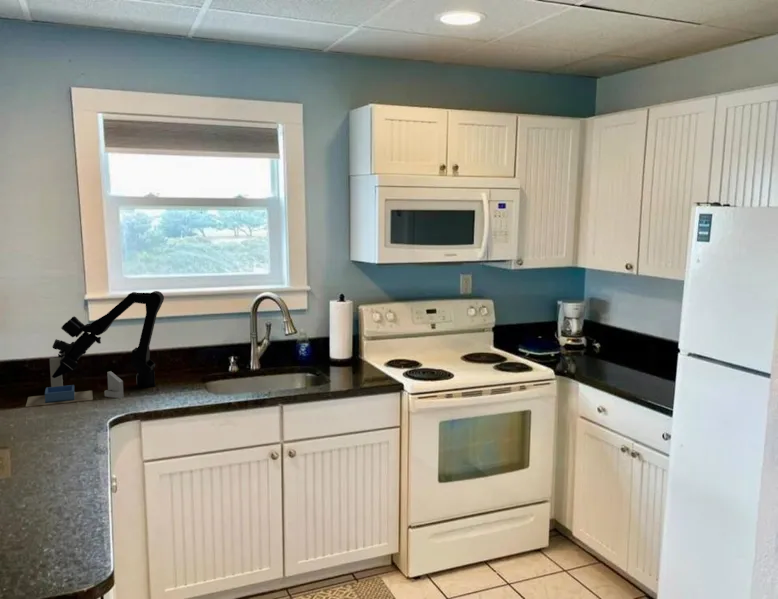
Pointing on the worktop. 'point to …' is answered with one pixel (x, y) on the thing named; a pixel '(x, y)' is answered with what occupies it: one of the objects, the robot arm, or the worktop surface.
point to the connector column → (53, 367)
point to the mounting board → (78, 397)
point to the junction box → (59, 393)
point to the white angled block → (114, 386)
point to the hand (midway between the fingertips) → (52, 374)
